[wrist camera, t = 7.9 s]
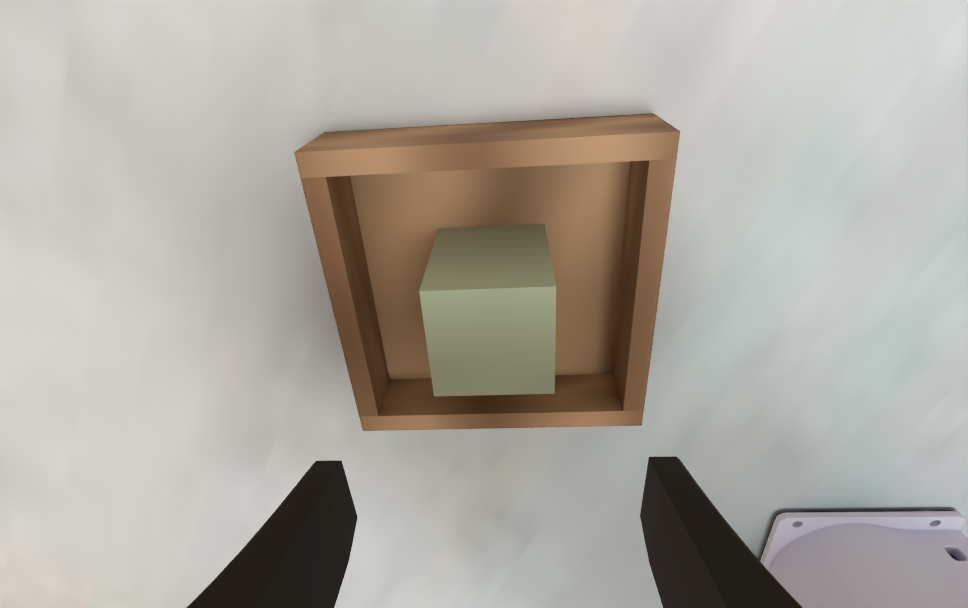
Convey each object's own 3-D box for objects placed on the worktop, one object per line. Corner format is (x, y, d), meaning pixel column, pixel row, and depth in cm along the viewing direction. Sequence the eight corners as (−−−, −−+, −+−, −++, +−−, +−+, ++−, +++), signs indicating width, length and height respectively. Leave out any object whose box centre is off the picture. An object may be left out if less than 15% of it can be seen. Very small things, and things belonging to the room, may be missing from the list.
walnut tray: (653, 113, 17) (679, 131, 15) (626, 379, 23) (641, 425, 20) (324, 132, 18) (294, 152, 15) (378, 385, 24) (363, 430, 21)
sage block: (544, 223, 19) (556, 286, 14) (544, 314, 21) (554, 393, 16) (438, 227, 19) (419, 291, 15) (448, 317, 21) (434, 396, 17)
